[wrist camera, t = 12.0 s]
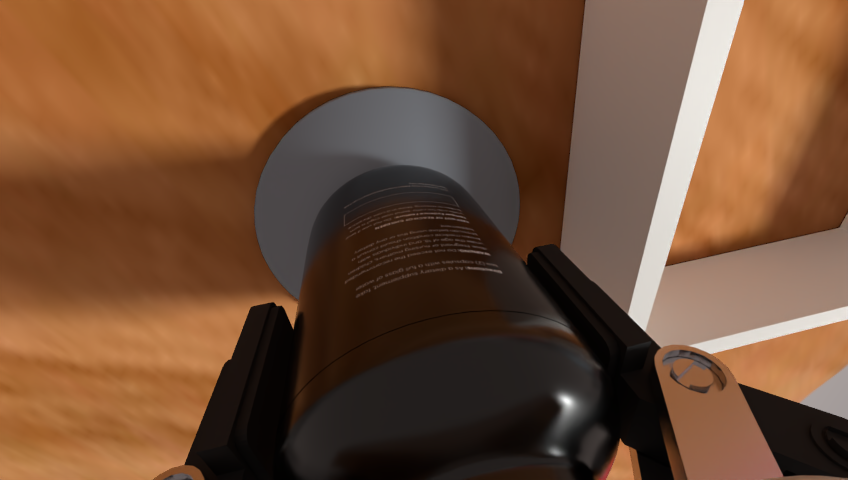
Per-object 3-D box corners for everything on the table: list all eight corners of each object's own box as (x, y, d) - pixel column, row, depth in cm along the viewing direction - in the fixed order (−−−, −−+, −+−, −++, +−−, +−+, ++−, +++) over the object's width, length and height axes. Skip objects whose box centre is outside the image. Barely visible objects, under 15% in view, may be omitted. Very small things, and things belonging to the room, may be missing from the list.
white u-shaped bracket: (851, 237, 21) (977, 286, 17) (546, 306, 19) (600, 381, 15) (1042, -73, 14) (1352, -123, 9) (572, -9, 12) (697, -35, 8)
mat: (512, 293, 18) (517, 300, 18) (305, 339, 17) (303, 348, 17) (516, 65, 13) (523, 66, 12) (208, 113, 12) (201, 116, 11)
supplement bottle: (285, 284, 14) (107, 979, 4) (352, 126, 11) (395, 926, 1) (432, 324, 16) (572, 793, 6) (513, 203, 14) (969, 649, 4)
